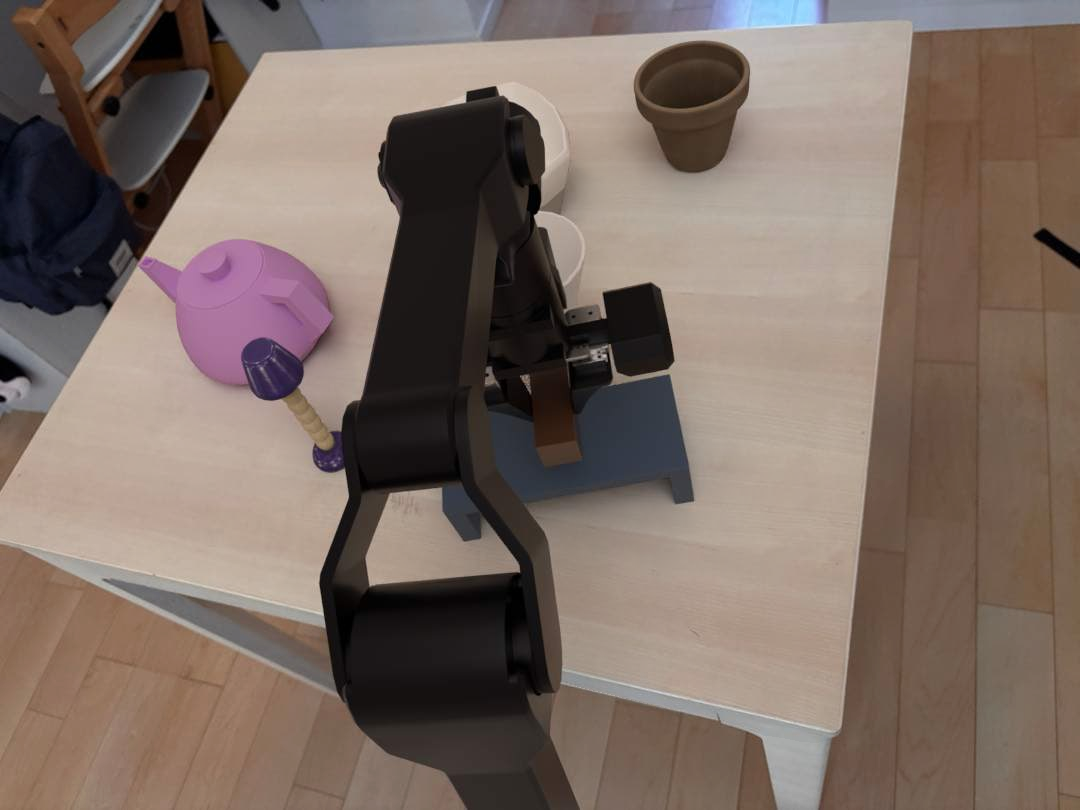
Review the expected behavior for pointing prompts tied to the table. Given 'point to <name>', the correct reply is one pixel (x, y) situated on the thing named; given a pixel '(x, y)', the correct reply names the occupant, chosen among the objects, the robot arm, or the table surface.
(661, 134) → the flower pot
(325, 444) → the toy lamp
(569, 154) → the bowl
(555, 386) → the block
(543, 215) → the cup
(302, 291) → the teapot
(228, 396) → the table surface
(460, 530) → the shelf
